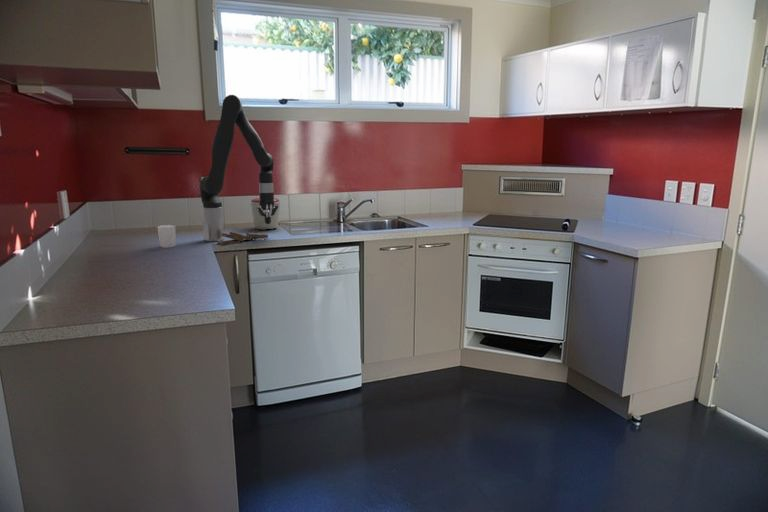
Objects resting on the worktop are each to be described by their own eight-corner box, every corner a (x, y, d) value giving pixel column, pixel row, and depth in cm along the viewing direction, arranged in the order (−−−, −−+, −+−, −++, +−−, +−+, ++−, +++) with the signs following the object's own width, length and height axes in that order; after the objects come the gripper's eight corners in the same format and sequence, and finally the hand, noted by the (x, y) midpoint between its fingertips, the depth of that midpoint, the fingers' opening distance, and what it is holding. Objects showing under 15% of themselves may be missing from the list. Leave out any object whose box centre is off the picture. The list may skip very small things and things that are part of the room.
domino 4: (267, 237, 273) (250, 237, 267) (263, 236, 277) (246, 235, 271) (267, 234, 273) (250, 234, 267) (263, 233, 277) (246, 232, 270)
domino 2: (240, 243, 263) (222, 246, 255) (234, 242, 266) (217, 245, 259) (239, 240, 262) (222, 243, 255) (234, 239, 266) (217, 241, 258)
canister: (252, 231, 295) (250, 195, 291) (249, 227, 312) (247, 192, 307) (283, 230, 301) (282, 194, 296) (279, 225, 317) (278, 191, 313)
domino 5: (257, 242, 267) (247, 239, 274) (265, 241, 270) (255, 238, 277) (256, 239, 266) (247, 236, 273) (265, 238, 270) (255, 235, 277)
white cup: (172, 244, 256) (171, 224, 254) (179, 246, 251) (177, 226, 249) (156, 246, 251) (154, 226, 249) (163, 248, 246) (161, 228, 243)
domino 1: (243, 241, 264) (226, 237, 257) (238, 240, 267) (221, 235, 260) (244, 238, 264) (226, 233, 257) (239, 237, 268) (222, 232, 260)
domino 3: (250, 240, 267) (233, 235, 260) (246, 239, 271) (229, 234, 264) (251, 237, 267) (234, 232, 260) (247, 236, 271) (230, 231, 264)
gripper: (273, 190, 279) (274, 221, 282) (251, 191, 270) (253, 224, 273) (281, 191, 273) (282, 223, 277) (259, 192, 264) (260, 226, 268)
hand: (267, 223), depth 275 cm, fingers closed
